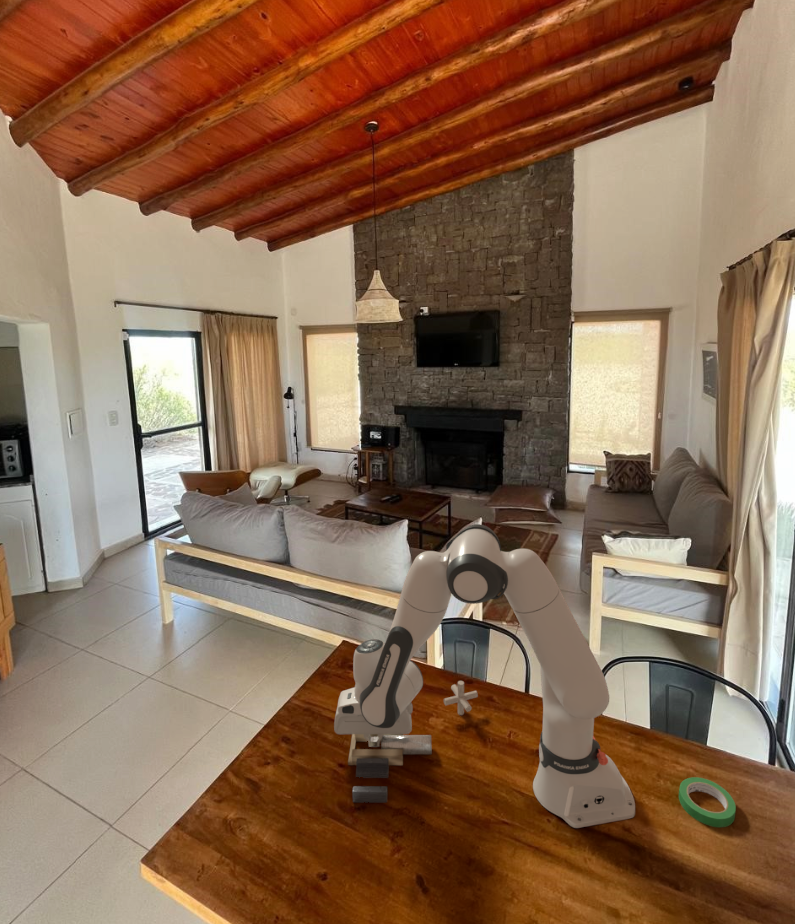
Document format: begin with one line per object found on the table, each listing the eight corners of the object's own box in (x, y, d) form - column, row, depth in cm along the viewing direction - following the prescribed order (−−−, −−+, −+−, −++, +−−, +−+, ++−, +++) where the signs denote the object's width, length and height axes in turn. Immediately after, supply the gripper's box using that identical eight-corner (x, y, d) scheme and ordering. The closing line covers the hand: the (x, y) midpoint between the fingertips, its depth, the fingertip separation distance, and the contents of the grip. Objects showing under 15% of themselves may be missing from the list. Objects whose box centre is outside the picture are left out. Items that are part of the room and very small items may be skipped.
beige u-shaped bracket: (403, 736, 141) (403, 726, 141) (402, 765, 131) (402, 755, 131) (352, 736, 142) (352, 726, 141) (348, 765, 132) (347, 755, 131)
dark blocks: (388, 768, 131) (388, 758, 130) (386, 802, 121) (386, 791, 120) (357, 768, 131) (356, 758, 130) (352, 802, 121) (352, 791, 120)
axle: (430, 741, 138) (430, 731, 136) (431, 757, 134) (431, 747, 132) (382, 741, 138) (381, 731, 136) (381, 757, 135) (380, 747, 132)
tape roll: (701, 832, 112) (703, 822, 111) (667, 790, 123) (669, 780, 122) (746, 824, 114) (748, 814, 113) (709, 783, 124) (710, 773, 124)
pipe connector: (468, 698, 156) (468, 668, 153) (484, 720, 146) (484, 689, 144) (438, 706, 153) (437, 676, 150) (452, 729, 143) (452, 697, 141)
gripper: (412, 691, 136) (413, 736, 139) (335, 691, 136) (337, 736, 140) (412, 707, 130) (413, 754, 133) (331, 708, 130) (334, 754, 133)
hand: (374, 745), depth 136 cm, fingers closed
